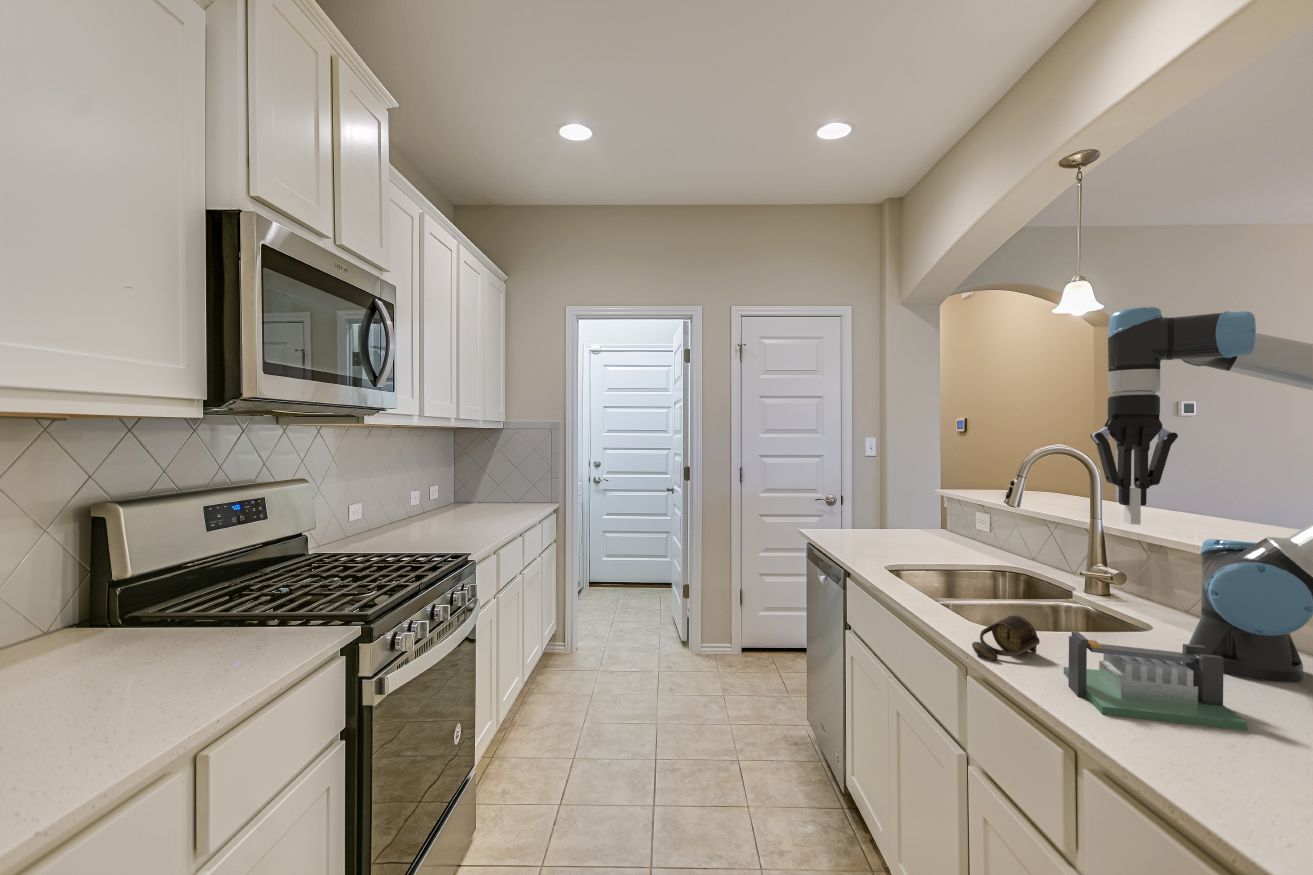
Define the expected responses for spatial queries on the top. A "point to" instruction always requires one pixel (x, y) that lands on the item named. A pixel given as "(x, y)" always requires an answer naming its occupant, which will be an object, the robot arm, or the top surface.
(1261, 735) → the top surface
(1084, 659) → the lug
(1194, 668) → the grey u-bracket
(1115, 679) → the heatsink
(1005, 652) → the antique brown clock
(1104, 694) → the board
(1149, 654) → the strap
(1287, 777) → the top surface
